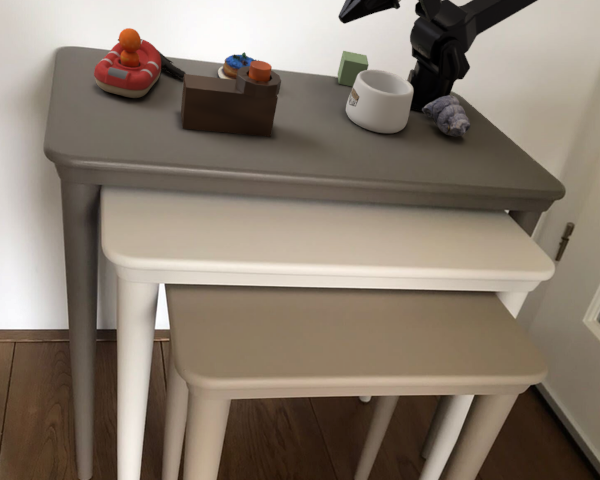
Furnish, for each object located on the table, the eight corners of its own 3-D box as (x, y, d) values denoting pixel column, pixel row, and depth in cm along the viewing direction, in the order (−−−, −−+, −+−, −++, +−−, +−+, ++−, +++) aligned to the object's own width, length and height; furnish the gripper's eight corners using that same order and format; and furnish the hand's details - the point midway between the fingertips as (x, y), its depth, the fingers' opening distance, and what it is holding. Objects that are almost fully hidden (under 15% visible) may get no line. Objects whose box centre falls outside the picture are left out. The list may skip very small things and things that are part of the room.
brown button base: (267, 120, 95) (277, 68, 90) (274, 140, 91) (284, 87, 86) (180, 111, 92) (184, 57, 87) (182, 131, 88) (187, 76, 83)
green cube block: (360, 78, 113) (366, 55, 110) (362, 88, 110) (368, 64, 107) (337, 74, 112) (343, 50, 110) (338, 83, 110) (344, 59, 107)
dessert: (220, 84, 99) (225, 42, 98) (213, 92, 105) (216, 53, 104) (272, 94, 101) (277, 53, 101) (261, 101, 107) (266, 63, 107)
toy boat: (165, 75, 99) (170, 22, 94) (143, 106, 91) (146, 51, 85) (115, 61, 99) (117, 8, 94) (87, 92, 90) (88, 35, 85)
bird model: (110, 28, 99) (107, 46, 101) (182, 72, 97) (178, 89, 98) (124, 26, 101) (121, 43, 103) (195, 69, 99) (190, 85, 101)
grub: (423, 119, 109) (454, 154, 103) (415, 95, 104) (446, 130, 98) (452, 101, 108) (484, 134, 102) (444, 76, 104) (478, 109, 98)
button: (267, 74, 89) (270, 61, 88) (271, 83, 87) (273, 70, 86) (247, 72, 88) (249, 59, 87) (249, 81, 86) (251, 68, 85)
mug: (414, 137, 101) (427, 99, 97) (355, 133, 97) (366, 94, 93) (387, 100, 109) (398, 64, 105) (332, 95, 106) (341, 58, 101)
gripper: (360, -141, 87) (276, -51, 89) (458, -97, 78) (362, 3, 79) (387, -71, 97) (311, 9, 98) (477, -24, 87) (391, 64, 89)
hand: (340, 20), depth 91 cm, fingers closed
